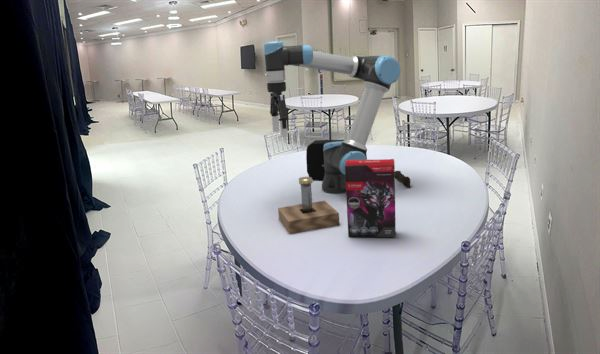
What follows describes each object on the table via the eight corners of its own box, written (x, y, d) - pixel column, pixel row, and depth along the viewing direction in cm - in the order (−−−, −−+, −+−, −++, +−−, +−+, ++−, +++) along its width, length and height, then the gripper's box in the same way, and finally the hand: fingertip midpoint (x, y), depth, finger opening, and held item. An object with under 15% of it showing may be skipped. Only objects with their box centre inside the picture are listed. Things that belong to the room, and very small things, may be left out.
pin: (312, 218, 177) (309, 176, 172) (316, 223, 172) (314, 179, 168) (300, 221, 176) (297, 177, 171) (303, 225, 171) (301, 181, 166)
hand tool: (393, 178, 225) (393, 169, 224) (400, 177, 226) (400, 168, 224) (403, 189, 207) (403, 180, 206) (412, 188, 207) (412, 179, 206)
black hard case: (307, 180, 230) (304, 143, 225) (313, 174, 241) (311, 138, 236) (364, 182, 221) (363, 143, 215) (368, 175, 232) (368, 138, 226)
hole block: (325, 211, 184) (324, 200, 183) (339, 225, 169) (338, 212, 168) (278, 219, 179) (278, 207, 178) (289, 233, 164) (288, 221, 163)
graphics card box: (347, 237, 158) (344, 164, 150) (348, 230, 164) (346, 159, 157) (395, 238, 154) (395, 163, 147) (395, 230, 161) (395, 158, 153)
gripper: (260, 81, 187) (264, 130, 193) (274, 84, 164) (279, 140, 170) (277, 79, 189) (281, 128, 195) (293, 82, 166) (297, 137, 172)
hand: (280, 134), depth 183 cm, fingers open, 13 cm apart
